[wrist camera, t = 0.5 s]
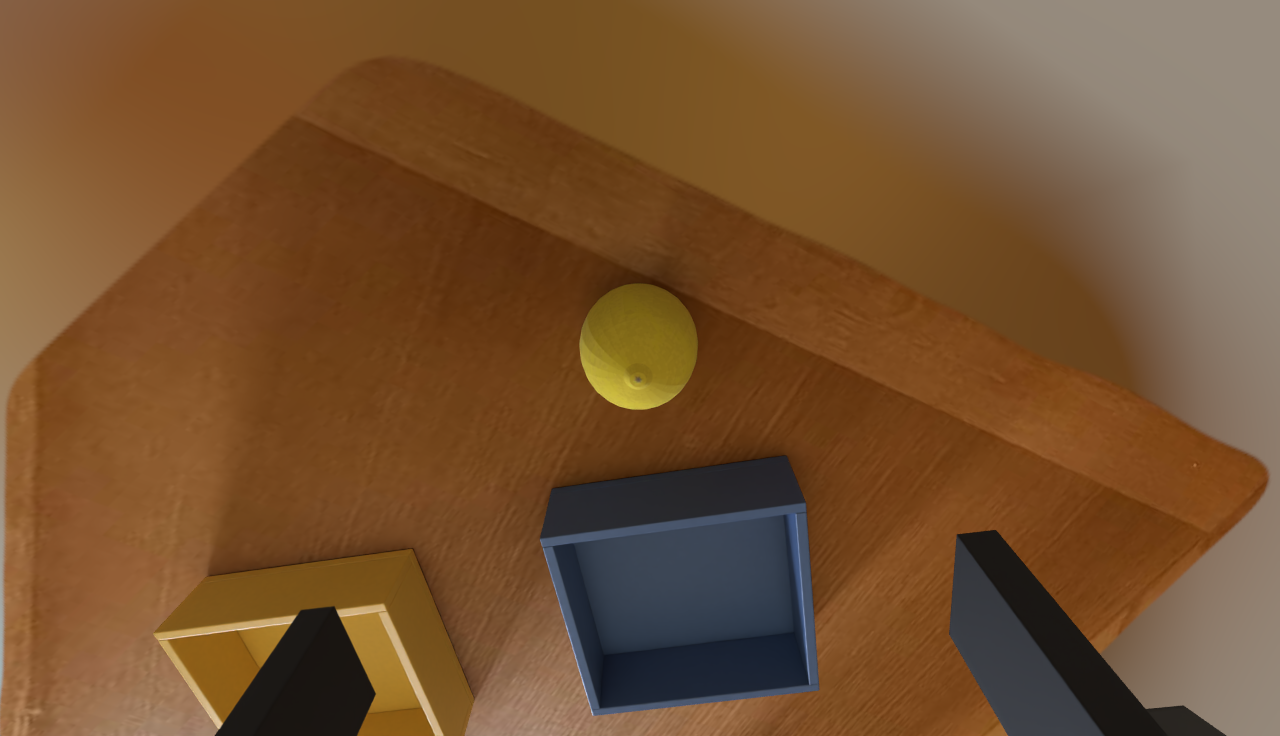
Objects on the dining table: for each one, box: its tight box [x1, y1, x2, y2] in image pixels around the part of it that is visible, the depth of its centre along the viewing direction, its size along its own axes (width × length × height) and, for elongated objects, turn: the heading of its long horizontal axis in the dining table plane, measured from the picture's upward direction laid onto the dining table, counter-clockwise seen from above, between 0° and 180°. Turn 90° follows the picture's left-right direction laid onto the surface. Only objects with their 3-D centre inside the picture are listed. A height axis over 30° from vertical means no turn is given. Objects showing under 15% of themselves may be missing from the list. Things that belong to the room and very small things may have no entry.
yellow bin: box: [153, 549, 474, 736], centre depth 39 cm, size 14×14×5 cm
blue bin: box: [540, 456, 819, 716], centre depth 36 cm, size 14×14×5 cm
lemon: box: [579, 283, 698, 409], centre depth 28 cm, size 6×6×8 cm
